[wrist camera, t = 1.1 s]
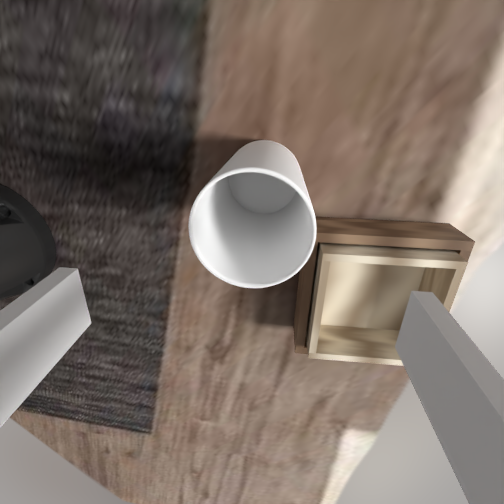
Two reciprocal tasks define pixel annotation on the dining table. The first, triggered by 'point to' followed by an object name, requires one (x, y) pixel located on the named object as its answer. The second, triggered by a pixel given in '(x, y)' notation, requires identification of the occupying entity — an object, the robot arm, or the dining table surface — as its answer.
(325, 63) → the dining table surface
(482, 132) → the dining table surface
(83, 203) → the dining table surface
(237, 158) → the cup
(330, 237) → the box
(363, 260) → the birch crate
